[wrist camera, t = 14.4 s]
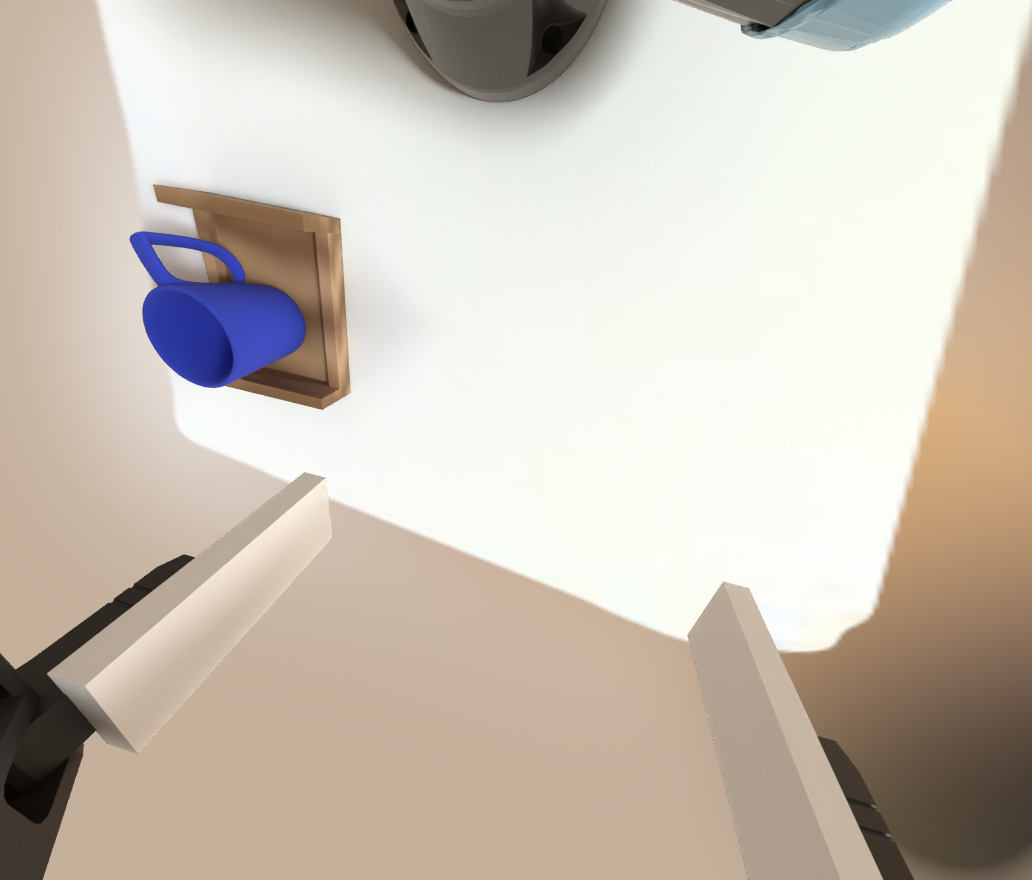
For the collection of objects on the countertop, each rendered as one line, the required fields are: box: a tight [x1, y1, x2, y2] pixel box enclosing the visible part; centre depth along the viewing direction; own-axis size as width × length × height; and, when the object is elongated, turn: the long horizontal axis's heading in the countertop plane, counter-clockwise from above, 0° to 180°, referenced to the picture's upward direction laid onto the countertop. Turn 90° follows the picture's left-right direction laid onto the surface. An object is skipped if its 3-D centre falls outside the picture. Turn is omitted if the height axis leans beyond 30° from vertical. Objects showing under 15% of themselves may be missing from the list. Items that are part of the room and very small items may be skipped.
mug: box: [130, 232, 306, 388], centre depth 33 cm, size 8×12×10 cm
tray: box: [153, 185, 350, 410], centre depth 36 cm, size 17×13×5 cm
